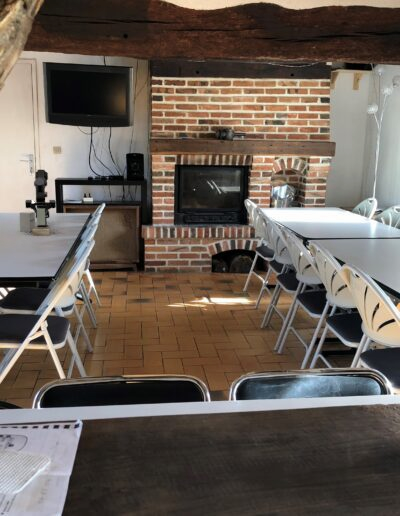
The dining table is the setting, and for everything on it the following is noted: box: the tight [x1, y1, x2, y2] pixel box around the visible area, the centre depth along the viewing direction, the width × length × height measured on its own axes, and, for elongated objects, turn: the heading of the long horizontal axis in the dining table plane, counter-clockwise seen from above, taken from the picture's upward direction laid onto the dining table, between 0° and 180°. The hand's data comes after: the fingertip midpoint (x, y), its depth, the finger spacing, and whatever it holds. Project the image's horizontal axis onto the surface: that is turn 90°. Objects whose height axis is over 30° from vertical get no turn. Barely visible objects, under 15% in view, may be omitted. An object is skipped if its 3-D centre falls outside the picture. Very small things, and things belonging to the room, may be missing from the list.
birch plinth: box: [31, 226, 51, 237], centre depth 346 cm, size 10×10×4 cm
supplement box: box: [19, 211, 36, 233], centre depth 355 cm, size 7×7×13 cm
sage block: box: [36, 207, 45, 226], centre depth 344 cm, size 5×5×10 cm
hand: (41, 214), depth 343 cm, fingers closed on sage block, 5 cm apart
